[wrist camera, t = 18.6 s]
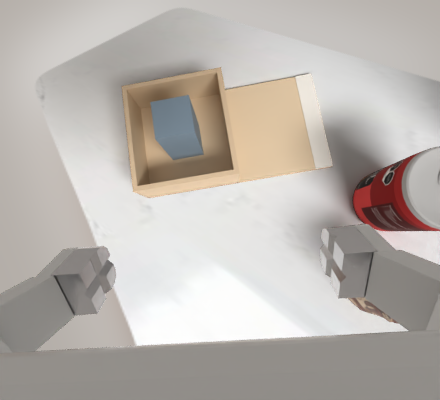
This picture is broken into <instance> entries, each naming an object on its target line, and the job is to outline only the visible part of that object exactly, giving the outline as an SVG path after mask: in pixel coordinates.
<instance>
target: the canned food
mask: <svg viewBox="0 0 440 400" xmlns="http://www.w3.org/2000/svg"><path fill="white" fill-rule="evenodd" d="M353 205H354V209H355V212H356V214H357V215H358V217H359V218H360V219H361V221H362V222H364V223H365V224H368V225H370V226H371V227H372V228H374V229H376V230H380V231H440V147H434V148H430V149H427V150H425V151H422V152H420V153H417V154H415V155H412V156H410V157H408V158H406V159H403V160H401V161H399V162H397V163H394V164H392V165H390V166H388V167H385V168H383V169H381V170H379V171H376V172H374V173H372V174H370V175H368V176H366V177H365V178H364V179H363V180H361V182H360V183H359V184H358V186H357V187H356V189H355V192H354V196H353Z"/></svg>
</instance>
